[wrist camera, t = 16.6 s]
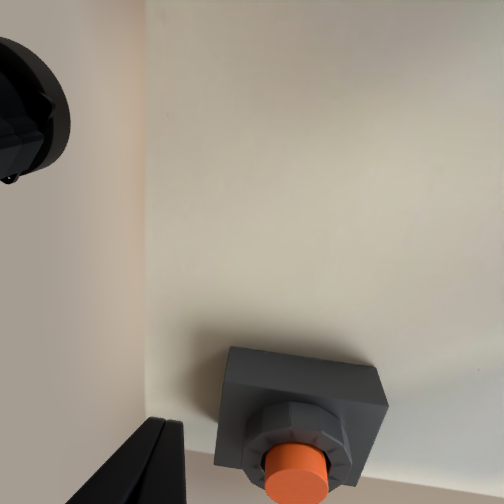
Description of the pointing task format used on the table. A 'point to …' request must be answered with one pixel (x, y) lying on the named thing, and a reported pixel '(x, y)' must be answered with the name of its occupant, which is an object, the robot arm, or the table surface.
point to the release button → (296, 473)
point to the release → (298, 412)
